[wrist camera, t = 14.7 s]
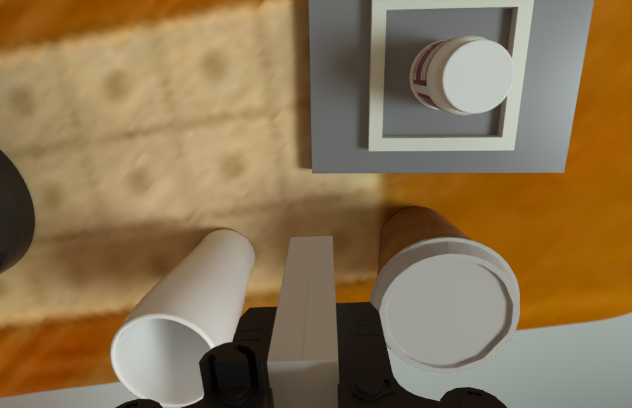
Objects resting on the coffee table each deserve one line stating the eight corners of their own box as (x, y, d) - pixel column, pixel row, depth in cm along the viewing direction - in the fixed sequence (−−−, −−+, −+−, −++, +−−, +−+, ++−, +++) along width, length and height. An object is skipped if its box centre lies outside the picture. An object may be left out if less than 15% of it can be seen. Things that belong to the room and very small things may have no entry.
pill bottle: (484, 90, 32) (533, 98, 24) (424, 117, 32) (452, 134, 24) (463, 28, 30) (507, 15, 22) (401, 58, 31) (422, 56, 23)
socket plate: (313, 169, 36) (311, 176, 33) (309, -29, 31) (306, -37, 29) (554, 168, 35) (570, 175, 32) (589, -38, 30) (610, -46, 28)
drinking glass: (205, 207, 37) (124, 295, 23) (275, 237, 38) (238, 341, 24) (182, 269, 40) (94, 384, 25) (249, 296, 40) (199, 424, 26)
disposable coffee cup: (388, 302, 40) (407, 398, 28) (343, 216, 37) (345, 284, 26) (485, 262, 38) (548, 348, 26) (446, 169, 35) (497, 220, 24)
